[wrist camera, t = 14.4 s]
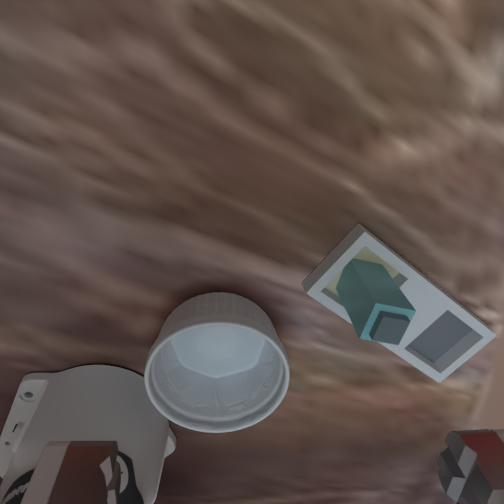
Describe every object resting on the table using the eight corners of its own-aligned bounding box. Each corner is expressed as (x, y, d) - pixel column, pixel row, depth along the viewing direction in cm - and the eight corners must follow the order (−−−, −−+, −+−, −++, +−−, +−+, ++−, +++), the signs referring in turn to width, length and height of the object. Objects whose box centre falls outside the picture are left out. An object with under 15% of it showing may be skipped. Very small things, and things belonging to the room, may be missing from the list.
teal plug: (368, 294, 44) (402, 351, 36) (335, 288, 43) (362, 344, 35) (382, 264, 42) (420, 316, 34) (348, 257, 41) (379, 308, 34)
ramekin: (127, 341, 44) (112, 391, 38) (209, 254, 41) (208, 294, 34) (224, 400, 49) (225, 452, 43) (306, 327, 45) (320, 373, 39)
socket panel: (431, 370, 49) (439, 383, 48) (302, 282, 43) (305, 293, 41) (486, 324, 47) (496, 335, 45) (358, 222, 40) (364, 231, 38)
